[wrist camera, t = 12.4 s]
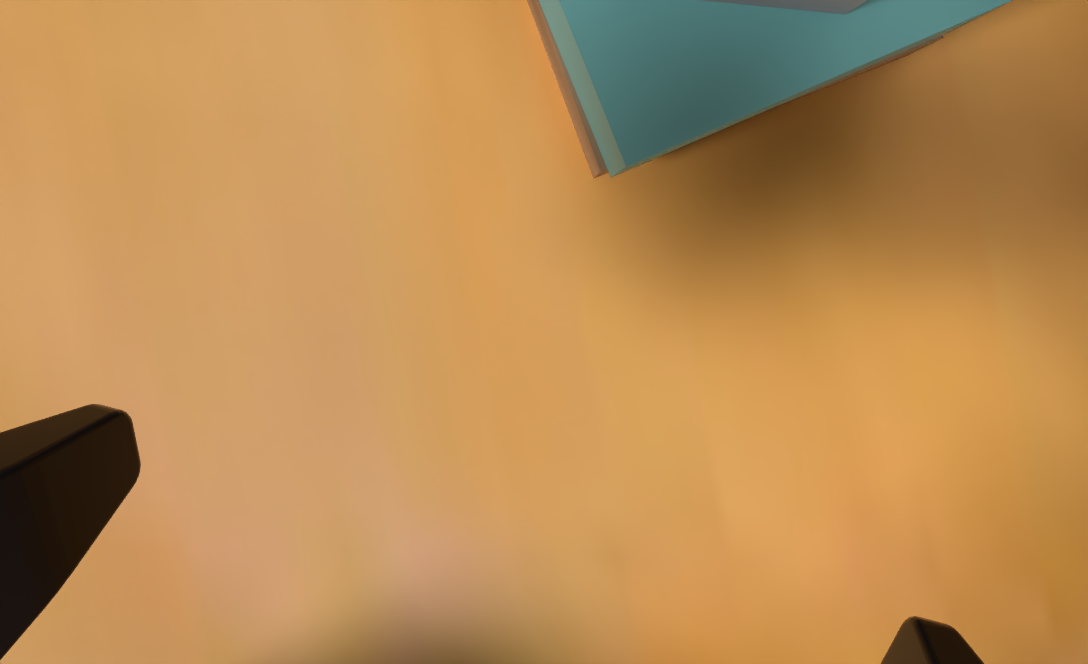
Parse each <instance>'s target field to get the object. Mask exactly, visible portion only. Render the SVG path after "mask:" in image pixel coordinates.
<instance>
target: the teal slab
mask: <svg viewBox="0 0 1088 664" xmlns="http://www.w3.org/2000/svg"><path fill="white" fill-rule="evenodd" d="M1010 1H1012V0H867V1H866V2H864V3H863V4H861V5H859V6H858V7H856V8H855V9H853V10H852V11H850V12H849V13H847V14H837V13H826V12H816V11H806V10H795V9H785V8H774V7H764V6H754V5H743V4H733V3H723V2H712V1H702V0H539V2H540V5H541V7H542V10H543V12H544V14H545V17H546V19H547V22H548V24H549V27H550V29H551V32H552V34H553V37H554V39H555V41H556V44H557V46H558V49H559V51H560V54H561V56H562V59H563V61H564V64H565V66H566V69H567V71H568V73H569V76H570V78H571V81H572V83H573V86H574V88H575V91H576V93H577V96H578V98H579V100H580V103H581V105H582V108H583V110H584V113H585V115H586V118H587V120H588V123H589V125H590V127H591V130H592V132H593V135H594V137H595V140H596V142H597V145H598V147H599V150H600V152H601V155H602V157H603V159H604V162H605V164H606V167H607V169H608V172H609V174H610V177H613V176H616V175H618V174H620V173H623V172H625V171H627V170H630V169H632V168H634V167H637V166H639V165H641V164H643V163H646V162H648V161H650V160H653V159H655V158H657V157H660V156H662V155H664V154H667V153H669V152H671V151H674V150H676V149H678V148H681V147H683V146H685V145H688V144H690V143H692V142H695V141H697V140H699V139H702V138H704V137H706V136H709V135H711V134H713V133H715V132H718V131H720V130H722V129H725V128H727V127H729V126H732V125H734V124H736V123H739V122H741V121H743V120H746V119H748V118H750V117H753V116H755V115H757V114H760V113H762V112H764V111H767V110H769V109H771V108H774V107H776V106H778V105H780V104H783V103H785V102H787V101H790V100H792V99H794V98H797V97H799V96H801V95H804V94H806V93H808V92H811V91H813V90H815V89H818V88H820V87H822V86H825V85H827V84H829V83H832V82H834V81H836V80H839V79H841V78H843V77H845V76H848V75H850V74H852V73H855V72H857V71H859V70H862V69H864V68H866V67H869V66H871V65H873V64H876V63H878V62H880V61H883V60H885V59H887V58H890V57H892V56H894V55H897V54H899V53H901V52H904V51H906V50H908V49H911V48H913V47H915V46H917V45H920V44H922V43H924V42H927V41H929V40H931V39H934V38H936V37H938V36H941V35H943V34H945V33H948V32H950V31H952V30H954V29H956V28H958V27H960V26H962V25H964V24H966V23H968V22H970V21H972V20H974V19H976V18H978V17H980V16H982V15H984V14H986V13H988V12H990V11H992V10H994V9H996V8H998V7H1000V6H1002V5H1004V4H1006V3H1008V2H1010Z"/></svg>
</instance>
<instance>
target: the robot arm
mask: <svg viewBox="0 0 1088 664" xmlns="http://www.w3.org/2000/svg"><path fill="white" fill-rule="evenodd" d="M140 466H141V463H140V457H139V452H138V447H137V442H136V437H135V432H134V427H133V422H132V419H131V417H130V416H129V415H128V414H127V413H126V412H124V411H123V410H119V409H115V408H111V407H107V406H103V405H98V404H91V405H87V406H83V407H80V408H77V409H74V410H71V411H67V412H64V413H61V414H58V415H55V416H52V417H48V418H45V419H42V420H39V421H36V422H32V423H29V424H26V425H23V426H20V427H17V428H13V429H10V430H7V431H4V432H1V433H0V660H1V659H2V658H3V656H4V655H5V654H6V653H7V652H8V651H9V649H10V648H11V647H12V646H13V645H14V644H15V642H16V641H17V640H18V639H19V638H20V637H21V635H22V634H23V633H24V632H25V631H26V629H27V628H28V627H29V626H30V625H31V624H32V622H33V621H34V620H35V619H36V618H37V617H38V615H39V614H40V613H41V612H42V611H43V610H44V608H45V607H46V606H47V605H48V603H49V602H50V601H51V600H52V599H53V597H54V596H55V595H56V594H57V592H58V591H59V590H60V588H61V587H62V586H63V584H64V583H65V582H66V580H67V579H68V578H69V576H70V575H71V574H72V572H73V571H74V570H75V568H76V567H77V565H78V564H79V562H80V561H81V560H82V558H83V557H84V555H85V554H86V553H87V551H88V550H89V548H90V547H91V545H92V544H93V543H94V541H95V540H96V538H97V537H98V536H99V534H100V533H101V531H102V530H103V528H104V527H105V526H106V524H107V523H108V521H109V520H110V519H111V517H112V516H113V514H114V513H115V512H116V510H117V509H118V507H119V506H120V504H121V503H122V502H123V500H124V499H125V497H126V496H127V495H128V493H129V492H130V490H131V489H132V487H133V486H134V484H135V483H136V481H137V478H138V476H139V473H140ZM881 664H984V663H983V661H982V660H981V659H980V658H979V657H978V655H977V654H976V653H975V652H974V650H973V649H972V648H971V647H970V646H969V644H968V643H967V642H966V641H965V640H964V638H963V637H962V636H961V635H960V634H959V633H958V632H957V631H956V630H955V629H954V628H953V627H951V626H949V625H947V624H944V623H940V622H936V621H932V620H929V619H925V618H921V617H917V616H913V617H909V618H908V619H906V620H905V621H904V623H903V624H902V625H901V627H900V629H899V631H898V633H897V635H896V636H895V638H894V640H893V642H892V644H891V646H890V647H889V649H888V651H887V653H886V655H885V657H884V658H883V660H882V662H881Z"/></svg>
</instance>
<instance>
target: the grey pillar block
mask: <svg viewBox="0 0 1088 664" xmlns="http://www.w3.org/2000/svg"><path fill="white" fill-rule="evenodd" d="M702 1H712V2H723V3H733V4H743V5H754V6H764V7H774V8H785V9H795V10H806V11H816V12H826V13H837V14H847V13H849V12H850V11H852V10H853V9H855V8H856V7H858V6H859V5H861V4H863V3H864V2H866V1H867V0H702Z"/></svg>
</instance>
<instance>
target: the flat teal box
mask: <svg viewBox="0 0 1088 664" xmlns="http://www.w3.org/2000/svg"><path fill="white" fill-rule="evenodd" d="M527 1H528V4H529V7H530V9H531V12H532V15H533V17H534V20H535V23H536V25H537V28H538V31H539V33H540V36H541V39H542V41H543V44H544V47H545V49H546V52H547V55H548V58H549V60H550V63H551V66H552V68H553V71H554V74H555V76H556V79H557V82H558V84H559V87H560V90H561V92H562V95H563V98H564V100H565V103H566V106H567V108H568V111H569V114H570V116H571V119H572V122H573V124H574V127H575V130H576V132H577V135H578V138H579V140H580V143H581V146H582V148H583V151H584V154H585V156H586V159H587V162H588V165H589V167H590V170H591V173H592V175H593V178H595V177H598V176H600V175H603V174H606V173H608V169H607V167H606V164H605V162H604V159H603V157H602V155H601V152H600V150H599V147H598V145H597V142H596V140H595V137H594V135H593V132H592V130H591V127H590V125H589V123H588V120H587V118H586V115H585V113H584V110H583V108H582V105H581V103H580V100H579V98H578V96H577V93H576V91H575V88H574V86H573V83H572V81H571V78H570V76H569V73H568V71H567V69H566V66H565V64H564V61H563V59H562V56H561V54H560V51H559V49H558V46H557V44H556V41H555V39H554V37H553V34H552V32H551V29H550V27H549V24H548V22H547V19H546V17H545V14H544V12H543V10H542V7H541V5H540V2H539V0H527ZM941 38H943V36H942V35H941V36H938V37H936V38H934V39H931V40H929V41H927V42H924V43H922V44H920V45H917V46H915V47H913V48H911V49H908V50H906V51H904V52H901V53H899V54H897V55H894V56H892V57H890V58H887V59H885V60H883V61H880V62H878V63H876V64H873V65H871V66H869V67H866V68H864V69H862V70H859V71H857V72H855V73H852V74H850V75H848V76H845V77H843V78H841V79H839V80H836V81H834V82H832V83H829V84H827V85H825V86H822V87H820V88H818V89H815V90H813V91H811V92H808V93H806V94H804V95H801V96H799V97H797V98H800V97H802V96H805V95H807V94H810V93H813V92H815V91H818V90H820V89H823V88H825V87H828V86H830V85H833V84H836V83H838V82H841V81H843V80H846V79H848V78H851V77H853V76H856V75H859V74H861V73H864V72H866V71H869V70H871V69H874V68H876V67H879V66H882V65H884V64H887V63H889V62H892V61H894V60H897V59H899V58H902V57H905V56H907V55H909V54H911V53H913V52H915V51H917V50H919V49H921V48H923V47H925V46H927V45H929V44H931V43H933V42H935V41H937V40H939V39H941ZM797 98H794V99H792V100H795V99H797ZM792 100H790V101H792ZM790 101H787V102H790ZM787 102H785V103H787ZM783 104H784V103H783ZM780 105H782V104H780ZM778 106H779V105H778ZM776 107H777V106H776ZM771 109H772V108H771Z"/></svg>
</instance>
